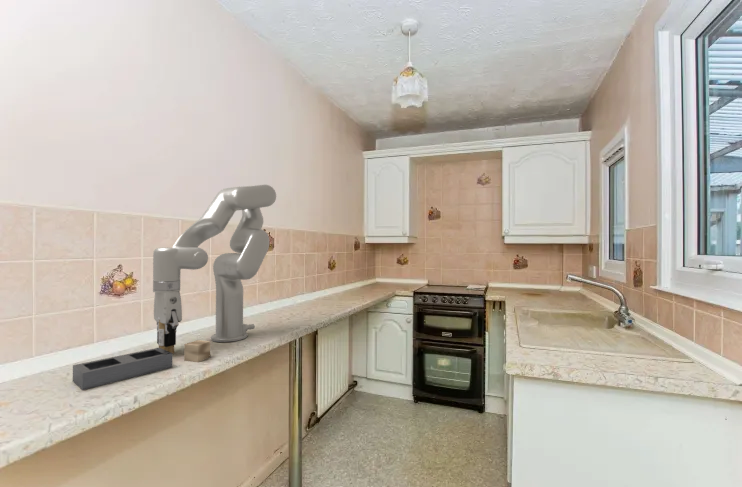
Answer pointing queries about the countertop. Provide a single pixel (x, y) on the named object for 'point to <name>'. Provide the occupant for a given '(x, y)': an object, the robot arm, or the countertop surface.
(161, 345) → the sprinkles bottle
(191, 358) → the block
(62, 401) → the countertop surface
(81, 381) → the grey compartment tray
